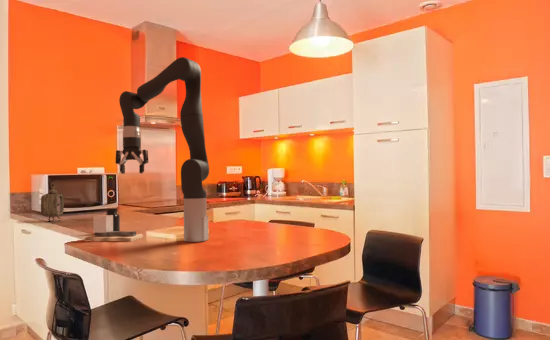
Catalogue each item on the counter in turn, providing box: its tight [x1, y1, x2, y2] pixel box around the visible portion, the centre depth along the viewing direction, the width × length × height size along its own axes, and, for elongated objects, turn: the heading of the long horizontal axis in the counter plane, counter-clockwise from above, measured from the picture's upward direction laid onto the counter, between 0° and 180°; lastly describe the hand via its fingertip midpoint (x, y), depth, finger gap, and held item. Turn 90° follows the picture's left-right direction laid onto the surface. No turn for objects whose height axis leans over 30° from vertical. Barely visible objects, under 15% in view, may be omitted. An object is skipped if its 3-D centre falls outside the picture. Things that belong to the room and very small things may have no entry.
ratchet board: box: [84, 230, 144, 242], centre depth 167 cm, size 20×11×8 cm, turn 84°
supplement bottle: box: [105, 207, 121, 231], centre depth 186 cm, size 7×7×12 cm
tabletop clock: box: [40, 181, 65, 222], centre depth 249 cm, size 14×9×25 cm, turn 12°
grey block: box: [92, 214, 113, 233], centre depth 168 cm, size 6×6×7 cm
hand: (132, 173), depth 175 cm, fingers open, 8 cm apart
